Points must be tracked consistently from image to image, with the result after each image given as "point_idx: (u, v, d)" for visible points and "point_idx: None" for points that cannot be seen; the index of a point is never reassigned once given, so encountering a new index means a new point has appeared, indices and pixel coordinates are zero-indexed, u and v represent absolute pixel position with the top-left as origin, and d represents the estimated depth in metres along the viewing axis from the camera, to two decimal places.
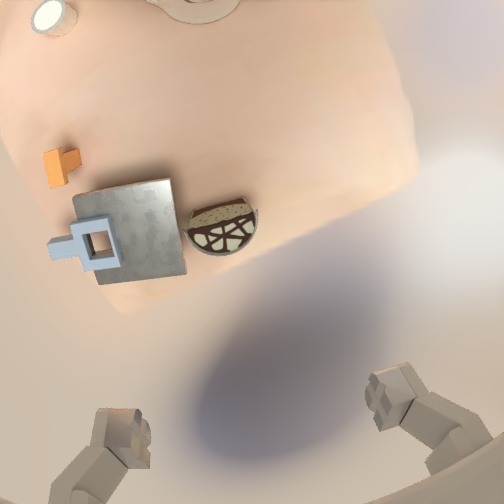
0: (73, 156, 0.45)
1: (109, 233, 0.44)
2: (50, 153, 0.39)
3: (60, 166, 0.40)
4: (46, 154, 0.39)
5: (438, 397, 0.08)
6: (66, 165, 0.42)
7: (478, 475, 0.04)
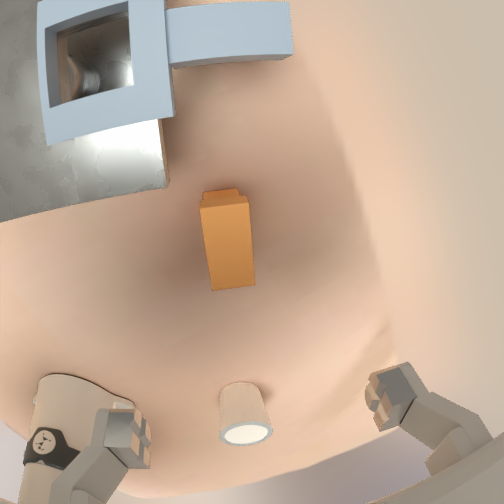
0: None
1: (44, 98, 0.11)
2: (232, 283, 0.21)
3: (207, 253, 0.20)
4: (244, 282, 0.21)
5: (438, 397, 0.08)
6: None
7: (478, 475, 0.04)
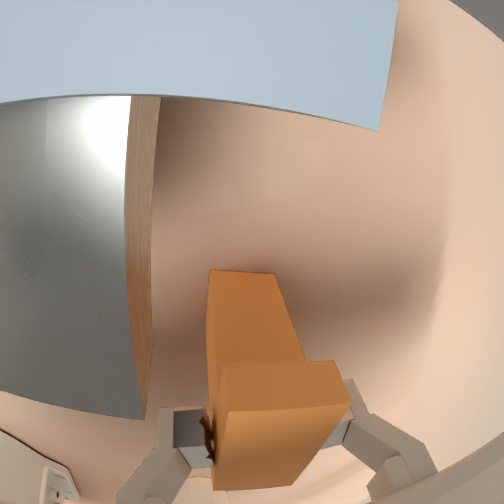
0: (208, 350, 0.13)
1: None
2: (253, 486, 0.09)
3: (221, 462, 0.08)
4: (274, 484, 0.09)
5: (380, 420, 0.08)
6: (214, 403, 0.09)
7: (478, 475, 0.04)
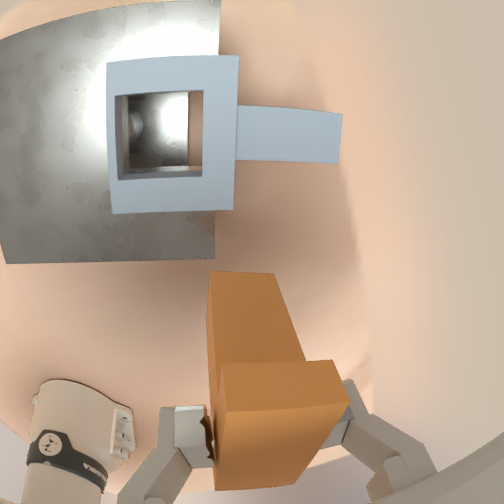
0: (208, 351, 0.13)
1: (113, 170, 0.15)
2: (255, 486, 0.09)
3: (222, 462, 0.08)
4: (276, 484, 0.09)
5: (380, 420, 0.08)
6: (214, 404, 0.09)
7: (478, 475, 0.04)
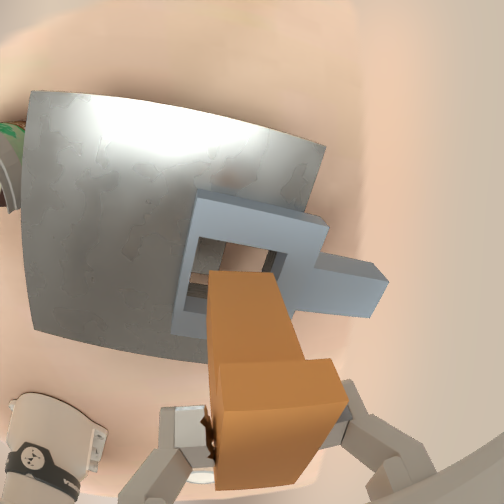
0: (208, 351, 0.13)
1: (180, 302, 0.16)
2: (255, 486, 0.09)
3: (221, 461, 0.08)
4: (277, 483, 0.09)
5: (379, 420, 0.08)
6: (213, 404, 0.09)
7: (478, 475, 0.04)
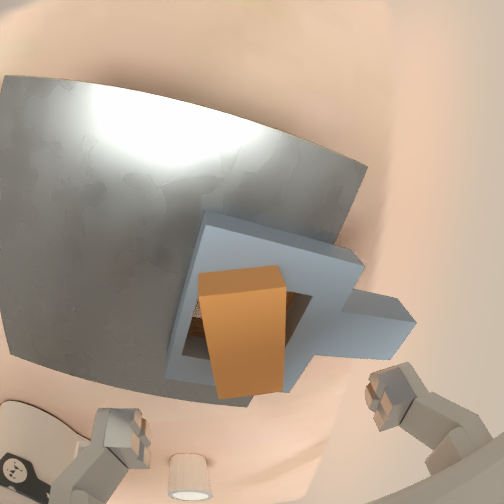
0: None
1: (178, 345, 0.13)
2: (249, 391, 0.13)
3: (212, 357, 0.12)
4: (267, 389, 0.13)
5: (439, 397, 0.08)
6: None
7: (478, 475, 0.04)
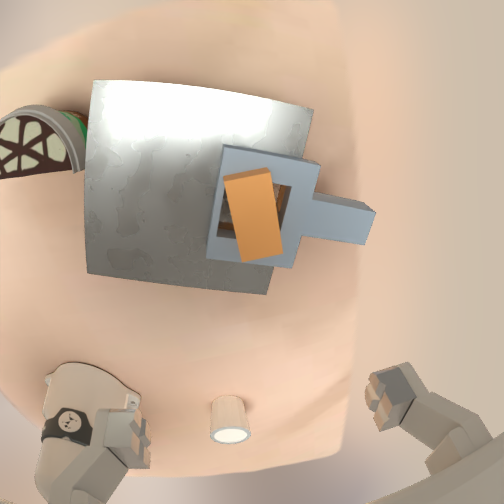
0: None
1: (214, 228, 0.22)
2: (261, 253, 0.22)
3: (235, 225, 0.21)
4: (272, 251, 0.22)
5: (438, 397, 0.08)
6: None
7: (478, 475, 0.04)
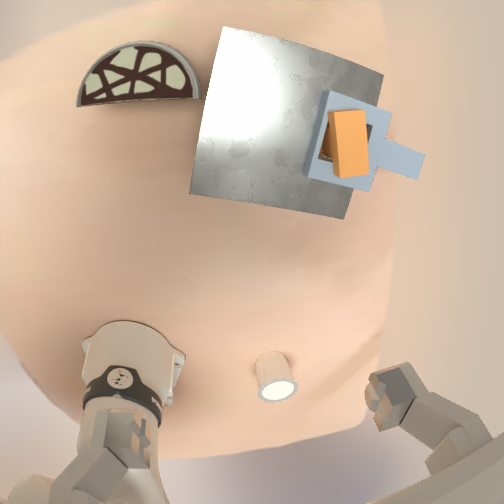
0: None
1: (317, 152, 0.27)
2: (354, 172, 0.26)
3: (338, 146, 0.25)
4: (362, 171, 0.26)
5: (438, 397, 0.08)
6: (328, 139, 0.27)
7: (478, 475, 0.04)
